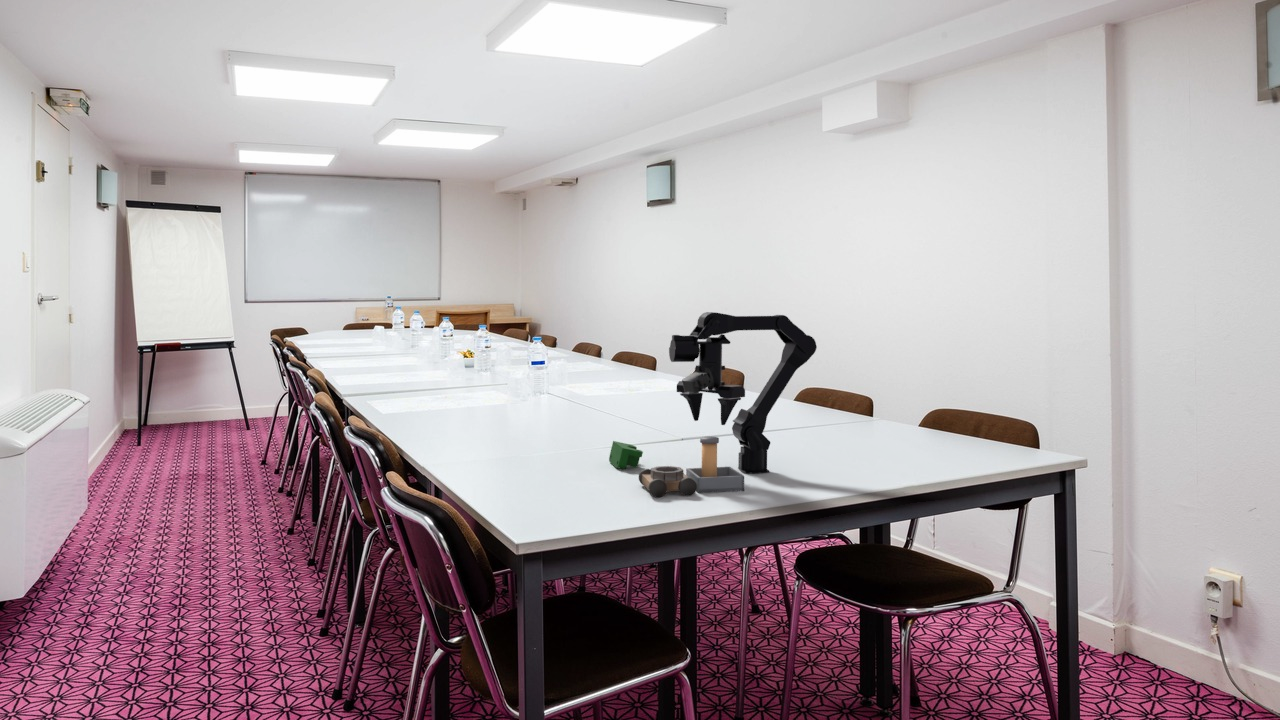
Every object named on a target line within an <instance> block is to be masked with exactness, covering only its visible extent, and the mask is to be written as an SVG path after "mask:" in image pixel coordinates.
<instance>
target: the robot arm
mask: <svg viewBox="0 0 1280 720" xmlns="http://www.w3.org/2000/svg"><path fill="white" fill-rule="evenodd" d="M738 331H775V332H776V333H775V334H777V336H778V337H779V339H780V340H781V341H782V342H783V344H784V346H783V349H782V353H781V359H780V361H779V364H778V365H777V366H776V368H775V370H774V371H773V372H772V374H771V376H770V377H769V379H768V380H767V382H766V384H765V385H764V387H763V388H762V390H761V391H760V393H759V395H758V396H757V398H756V399H755V401H754V403H753V404H752V406H750V408H748V409H747V410H746V409H743V408H741V409H740V410H739V411H738V414H737V416H736V417H735V418H734V419H733V420H732V422H733V425H732V427H731V430H732V435H733V436H734V437H735V438H736V439H737V441H738V443H739V445H740V452H738V464H737V465H738V467H737V470H740V471H741V472H742V473H744V474H764V473H766V474H767V473H770V469H768V450H769V448H770V445H771V441H770V440H769V439H768V438H767V437H766V436H765V435H764V434H763V433H764V431H765V428H766V425H767V420H768V415H769V414H770V412H771V411H772V408H773V407H774V406H775V404H776V402H777V401H778V399H779V398H780V396H781V395H782V394H783V391H784V390H785V389H786V387H787V386H788V384H789V382H790V380H791V379H792V377H793V376H794V374H795V372H796V371H797V370H798V369H799V368H800V367H802V366H803V365H805V364H806V363H807V362H808V361H809V360H810V359H811V357H812V356H813V355H815V353H816V352H817V351H816V350H817V348H818V347H817V342H816V340H815V338H814V337H813V336H811V335H809V334H806V333H805V332H804V331H803V330H802V329H801V328H799V326H797V325H796V324H795V323H793V321H791V319H790V318H789V317H788V316H787V315H784V314H775V315H732V314H726V313H720V312H709V311H706V312H703V313H701V315H700V316H699V317H698V319H697V324H696V326H695V327H694V328H693V330H692V331H691V333H690V334H688V335H679V334H671V341H670V344H669V348H668V354H669V356H668V357H669V361H670V362H671V363H679V362H680V363H693V362H695V360H696V359H698V358H699V362H698V365H695V367H694V372H693V373H690V374H689V375H687V376H685V377H683V378H682V380H679V381H678V382H677V384H676V393H679V395H680V396H682V397H683V398H685V400H686V401H687V403H688V407H689V408H690V412H691V414H692V417H693V418H692V419H693V421H694V422H697V421H699V418H700V413H701V408H702V407H701V406H702V401H703V395H704V393H711V394H718V396H719V397H720V398H717V401H718V402H719V404H720V425H721V426H725V425H726V424H727V422H728V419H729V418H730V416H731V413H732V411H733V409H734V407H735V406H736V404H737V403H738V401H741V400H742V398H745V397H746V389H745V387H744V386H743V385H740V384H739V385H738V384H737V385H736V384H725V383H726V382H725V381H722V380H723V379H722V373H723V372H722V371H723V370H726V365H723V363H722V362H723V345H730V344H731V340H729V339H728V338H727V337H726V335H725V334H728V333H733V332H738ZM712 336H717V337H712ZM701 340H702V341H701Z"/></svg>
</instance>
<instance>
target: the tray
mask: <svg viewBox="0 0 1280 720" xmlns="http://www.w3.org/2000/svg"><path fill="white" fill-rule="evenodd" d="M685 473H686V474H685V475H686V476H687V477H689V478H691V479H693V480H694V481H695V482H696V484H697V489H696V492H697V494H709V493H727V492H728V493H729V492H730V491H732V492H745V475H744V474H742V473H741V472H739V471H737V470H736V469H734V468H733V467H731V466H717V477H702V467H690V468H686V472H685Z"/></svg>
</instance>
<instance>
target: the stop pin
mask: <svg viewBox="0 0 1280 720" xmlns="http://www.w3.org/2000/svg"><path fill="white" fill-rule="evenodd" d="M719 439H720V438H719V437H717V436H700V438H699V442H700V443H701V468H702V477H717V467H718V444H719V442H720V440H719Z"/></svg>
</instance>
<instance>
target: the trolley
mask: <svg viewBox="0 0 1280 720" xmlns="http://www.w3.org/2000/svg"><path fill="white" fill-rule="evenodd" d="M638 482H639V483H640V484H641V485H642V486H644V487H645V488H646V489H647V490H648V492H649V494H650V495H651V496H652V497H654V498H661V497H664V496H665V494H666V493H667V492H680V493H681V494H682V495H683V496H685V497H690V496H693V495H694V494H695V493H696V492H697V491H696V489H697V484H696V482H695V481H694V480H693V479H691V478H689V477H687V476H686V474H685V473H684V469H683V468H682V467H680V466H673V465H670V466H669V465H661V466H659V465H658V466H654V467H651V468H645V469H642V470H641V471H640V472H639V474H638Z"/></svg>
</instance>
